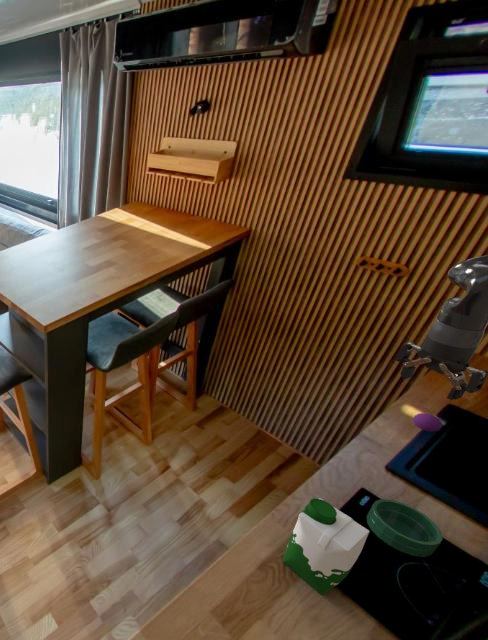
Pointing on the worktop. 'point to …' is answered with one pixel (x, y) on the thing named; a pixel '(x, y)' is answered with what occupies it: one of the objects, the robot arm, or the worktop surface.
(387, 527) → the bowl
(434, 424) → the ball
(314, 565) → the milk carton
